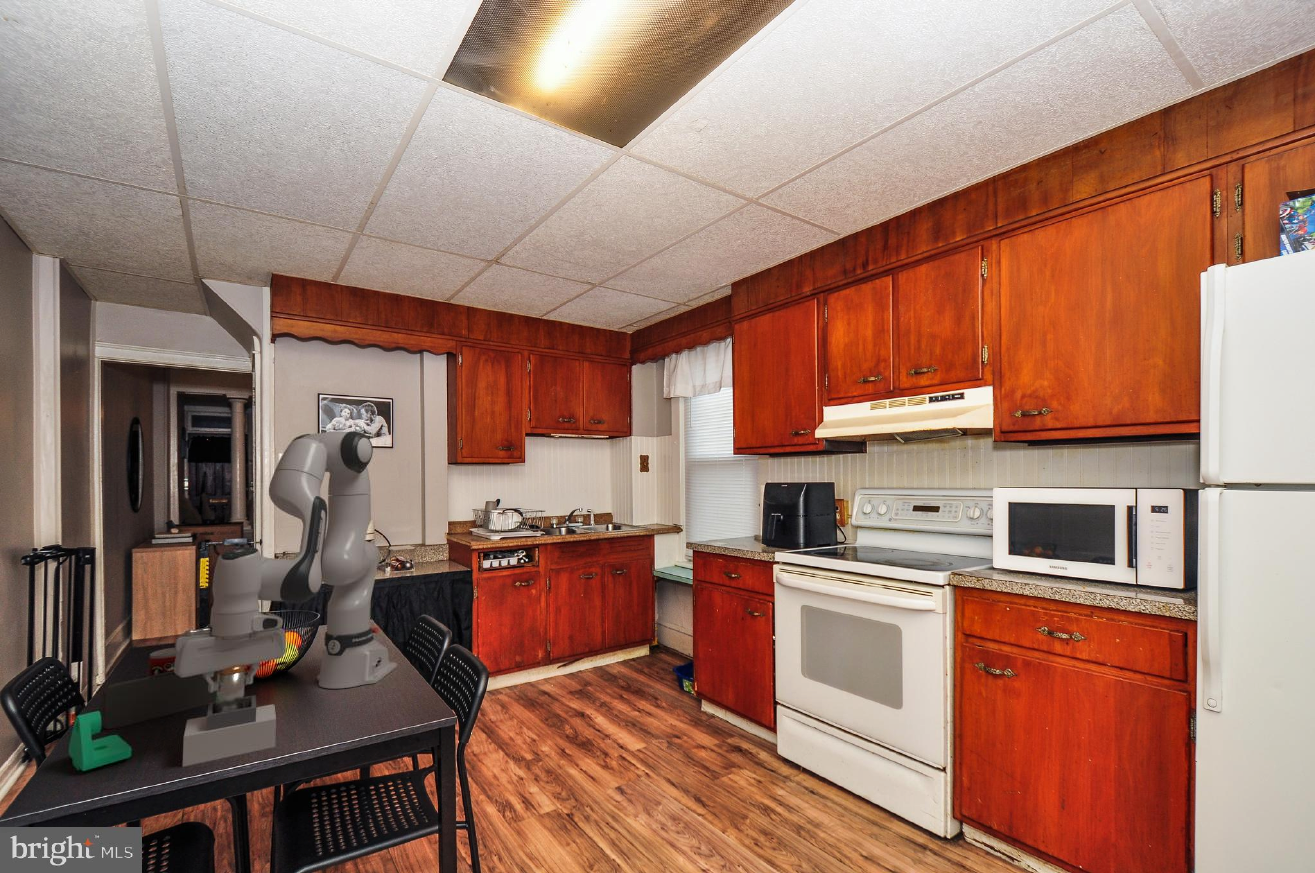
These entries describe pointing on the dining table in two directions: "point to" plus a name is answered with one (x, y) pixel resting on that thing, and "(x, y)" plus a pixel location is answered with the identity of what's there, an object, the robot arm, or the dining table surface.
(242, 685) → the glass jar
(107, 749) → the camera mount
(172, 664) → the canned food
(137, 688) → the handheld gaming console
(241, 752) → the grey pedestal block
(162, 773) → the dining table surface
